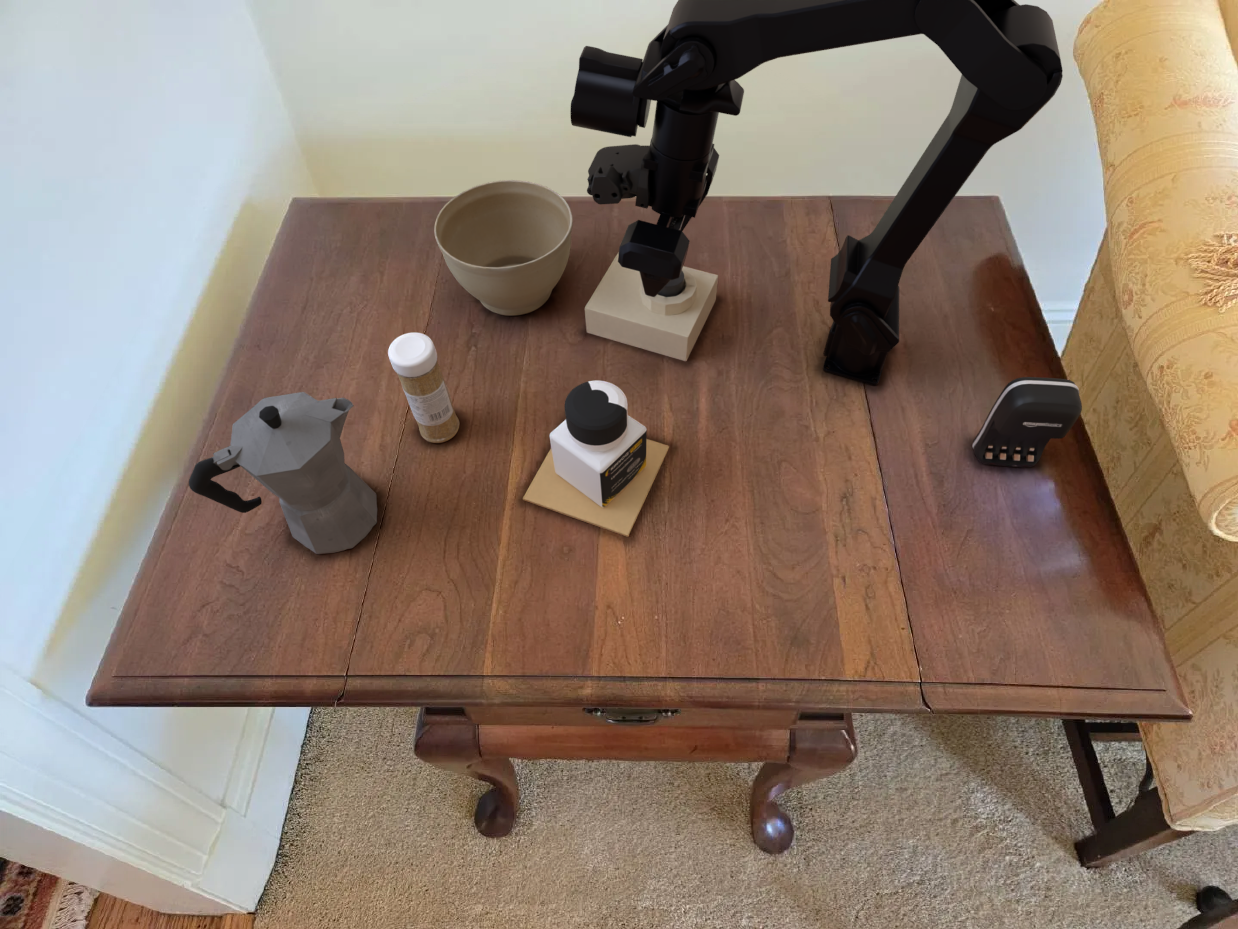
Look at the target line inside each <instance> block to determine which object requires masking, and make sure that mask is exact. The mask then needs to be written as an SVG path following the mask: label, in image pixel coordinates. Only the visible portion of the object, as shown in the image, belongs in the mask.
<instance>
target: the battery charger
mask: <svg viewBox="0 0 1238 929" xmlns="http://www.w3.org/2000/svg"><path fill="white" fill-rule="evenodd" d="M1082 412H1083V404H1082V400H1081V396H1080V389H1079V386H1078V385H1077V384H1076V382H1075V381H1073V380H1070V379H1066V378H1054V377H1038V376H1021V377H1017V378H1015V379H1012V380H1011V381H1009V382H1008V383H1007V384H1006V385H1005V386H1004V388H1003V389H1002V391H1001V392H1000V393H999V395H998V397H997V399H996V400H995V402H994V403H993V405H992V407H991V408H990V410H989V413H988V415H987V416H986V418H985V420H984V422H983V424H982V426H981V427H980V429H979V431H978V432H977V434H976V436H975V437H974V439H973V440H972V445H971V446H972V449H973V453H974V455H975V458H976V459H977V460H978V461H979V462H980V463H982V464H984V465H987V466H999V467H1000V466H1001V467H1002V466H1003V467H1016V468H1032V467H1035V466H1037V464H1038V462H1039V461H1040V459H1041V457H1042V455H1043V452H1044V450H1045V448H1046V446H1047V445H1048V443H1049V442H1050V441H1051V439H1052V440H1055V439H1057V440H1058V439H1059V440H1060V439H1063V438H1065V437H1066V436H1067V435H1068V433H1069V432H1070V430H1071V429H1072V428H1073V426H1074V425H1075V423H1076V422H1077V421H1078V419H1079V417H1080V415H1081V414H1082Z"/></svg>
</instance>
